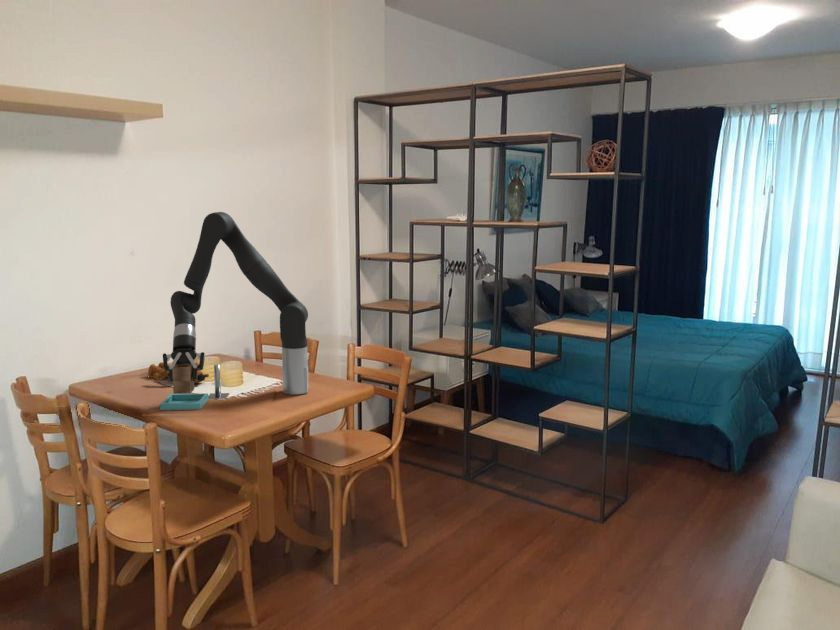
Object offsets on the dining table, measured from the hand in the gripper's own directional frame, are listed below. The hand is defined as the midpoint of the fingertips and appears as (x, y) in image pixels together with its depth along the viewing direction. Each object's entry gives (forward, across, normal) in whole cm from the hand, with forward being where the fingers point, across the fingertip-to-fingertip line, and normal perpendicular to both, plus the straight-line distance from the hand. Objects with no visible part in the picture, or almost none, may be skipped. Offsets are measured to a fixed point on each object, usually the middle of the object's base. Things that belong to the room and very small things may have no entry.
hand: (183, 380), depth 221 cm
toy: (-19, -5, +34) cm, 39 cm away
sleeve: (+2, 0, +4) cm, 5 cm away
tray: (+6, 0, +8) cm, 10 cm away
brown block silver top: (0, +11, +14) cm, 17 cm away
